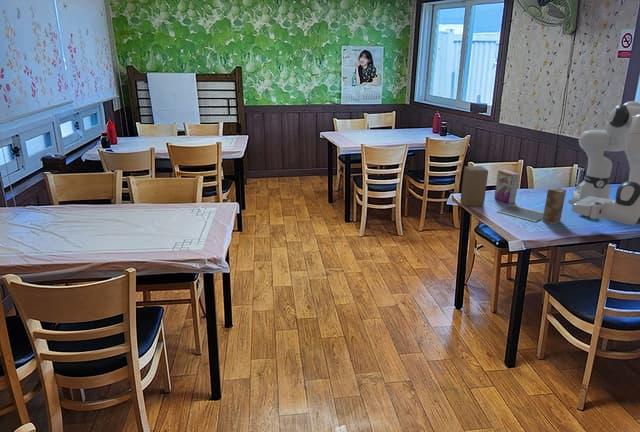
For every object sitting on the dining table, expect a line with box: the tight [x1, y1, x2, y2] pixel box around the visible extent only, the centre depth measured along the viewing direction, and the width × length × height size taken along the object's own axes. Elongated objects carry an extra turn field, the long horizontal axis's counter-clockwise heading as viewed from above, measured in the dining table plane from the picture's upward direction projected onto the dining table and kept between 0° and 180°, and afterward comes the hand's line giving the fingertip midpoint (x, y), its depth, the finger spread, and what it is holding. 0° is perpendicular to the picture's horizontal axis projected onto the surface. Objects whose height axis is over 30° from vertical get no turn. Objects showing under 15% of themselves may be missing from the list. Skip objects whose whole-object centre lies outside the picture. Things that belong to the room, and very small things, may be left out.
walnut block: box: [542, 186, 567, 225], centre depth 219 cm, size 6×6×16 cm
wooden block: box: [460, 165, 489, 207], centre depth 243 cm, size 10×10×20 cm
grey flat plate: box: [496, 204, 544, 223], centre depth 231 cm, size 20×16×1 cm
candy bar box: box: [493, 169, 520, 204], centre depth 249 cm, size 11×5×16 cm, turn 22°
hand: (569, 200), depth 213 cm, fingers closed
